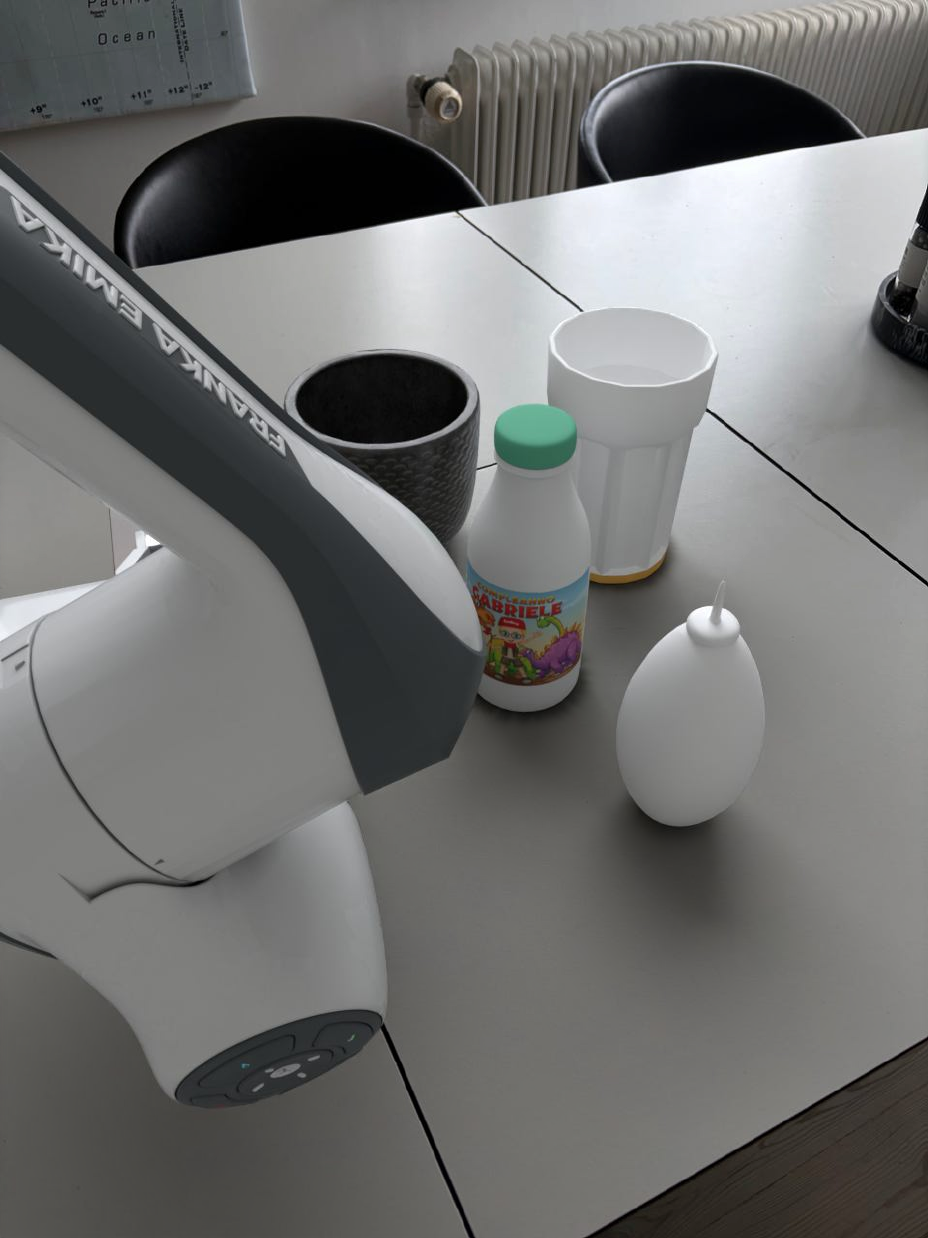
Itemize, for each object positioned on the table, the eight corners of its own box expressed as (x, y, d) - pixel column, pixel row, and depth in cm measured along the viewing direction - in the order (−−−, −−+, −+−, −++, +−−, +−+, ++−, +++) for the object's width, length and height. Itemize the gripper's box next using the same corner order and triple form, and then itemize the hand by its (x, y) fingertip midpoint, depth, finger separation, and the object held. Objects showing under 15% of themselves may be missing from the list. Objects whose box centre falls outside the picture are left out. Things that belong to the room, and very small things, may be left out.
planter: (378, 624, 73) (365, 476, 64) (267, 535, 80) (243, 392, 71) (515, 541, 79) (521, 398, 71) (402, 467, 87) (394, 328, 78)
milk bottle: (468, 633, 72) (468, 384, 58) (576, 635, 72) (602, 387, 58) (464, 714, 66) (463, 460, 53) (581, 717, 66) (611, 463, 52)
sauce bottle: (586, 772, 63) (615, 549, 50) (697, 740, 65) (752, 517, 52) (642, 875, 57) (691, 653, 45) (762, 837, 59) (840, 614, 47)
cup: (521, 511, 82) (530, 312, 70) (653, 496, 84) (684, 299, 72) (555, 603, 74) (572, 395, 62) (701, 584, 76) (745, 378, 64)
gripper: (452, 618, 44) (378, 448, 53) (-48, 723, 39) (-30, 518, 49) (453, 715, 48) (384, 541, 58) (3, 819, 44) (10, 613, 53)
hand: (191, 531), depth 53 cm, fingers closed on rook chess piece, 3 cm apart
